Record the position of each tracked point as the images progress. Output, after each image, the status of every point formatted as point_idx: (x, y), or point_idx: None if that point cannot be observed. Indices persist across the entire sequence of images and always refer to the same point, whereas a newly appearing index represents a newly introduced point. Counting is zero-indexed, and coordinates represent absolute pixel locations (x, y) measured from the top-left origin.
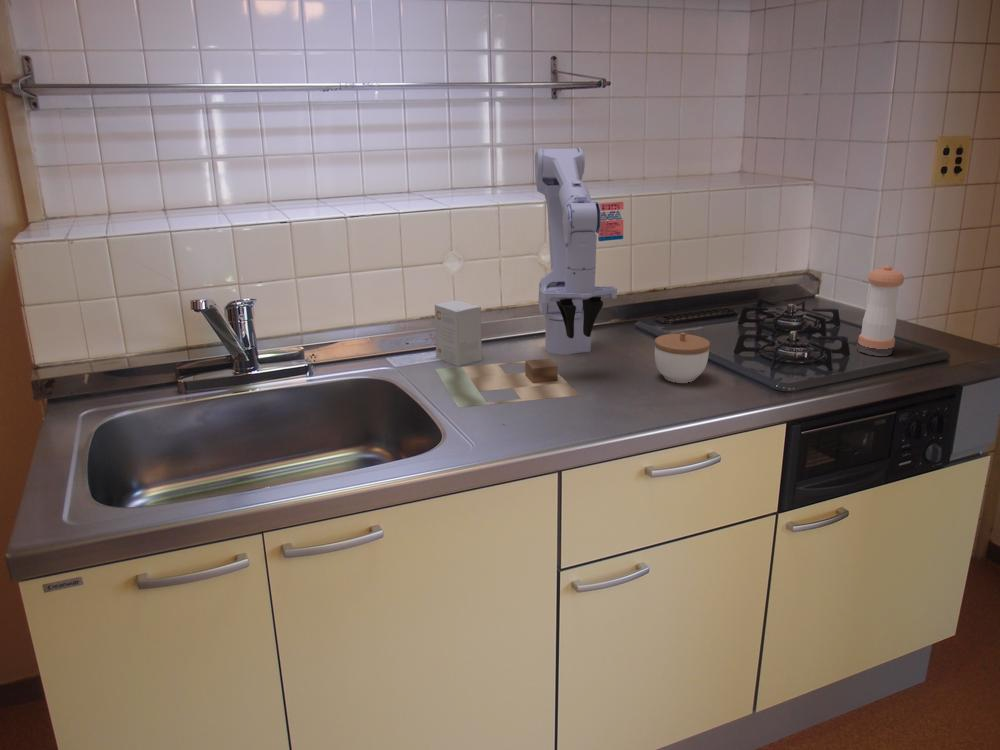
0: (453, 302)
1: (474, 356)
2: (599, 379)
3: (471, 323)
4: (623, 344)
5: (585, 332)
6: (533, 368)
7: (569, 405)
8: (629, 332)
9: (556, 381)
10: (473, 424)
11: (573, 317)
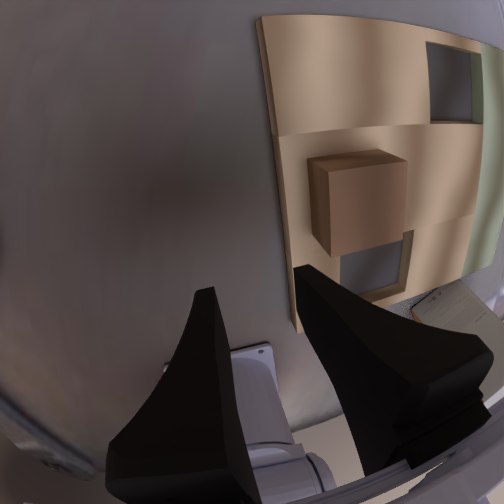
0: None
1: (439, 313)
2: (151, 225)
3: None
4: (99, 421)
5: (221, 317)
6: (406, 161)
7: (291, 10)
8: (98, 453)
9: (310, 154)
10: (484, 3)
11: (362, 331)
